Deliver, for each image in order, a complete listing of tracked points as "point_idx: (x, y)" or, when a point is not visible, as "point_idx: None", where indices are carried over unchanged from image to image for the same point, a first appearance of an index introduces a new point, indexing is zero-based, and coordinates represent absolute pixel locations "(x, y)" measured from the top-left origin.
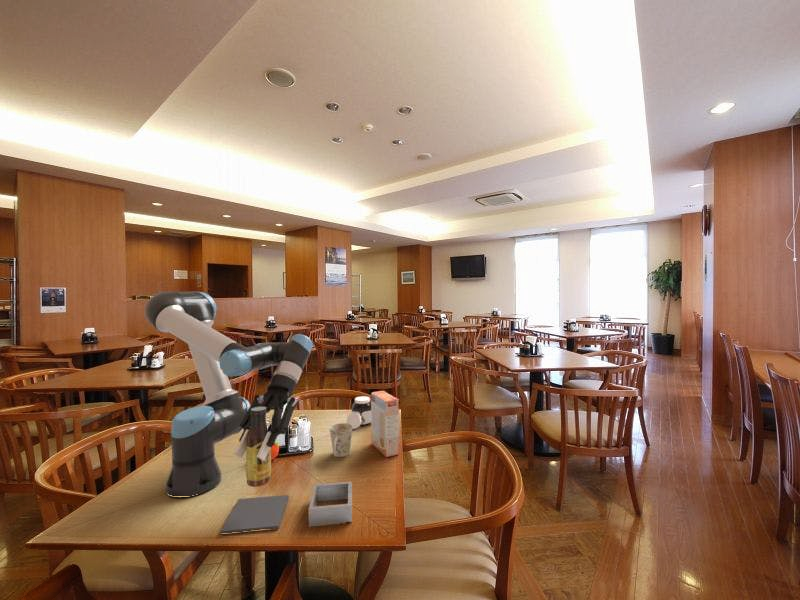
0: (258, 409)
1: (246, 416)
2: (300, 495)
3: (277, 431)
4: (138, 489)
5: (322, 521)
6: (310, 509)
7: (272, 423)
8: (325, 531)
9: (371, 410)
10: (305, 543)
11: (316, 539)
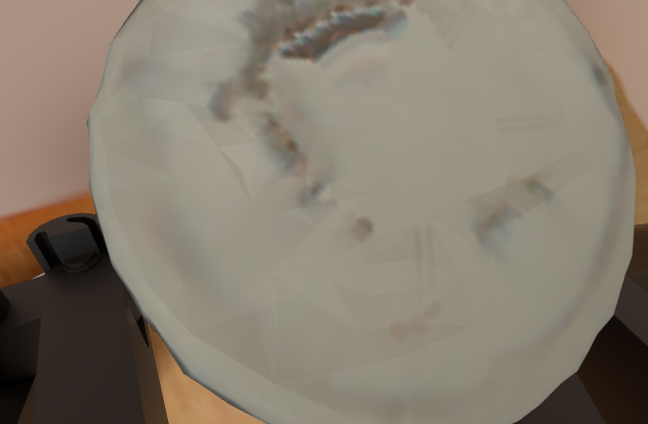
0: (306, 18)
1: (620, 295)
2: (216, 397)
3: (30, 284)
4: (636, 215)
5: None
6: (38, 276)
7: (122, 326)
8: (7, 274)
9: None
10: (44, 208)
11: (18, 234)
